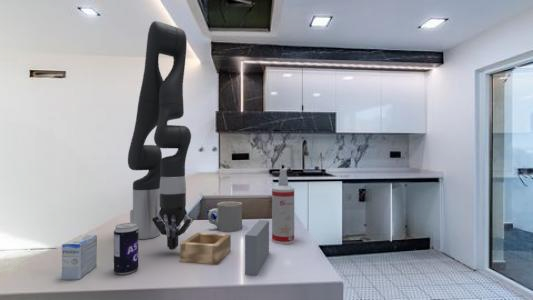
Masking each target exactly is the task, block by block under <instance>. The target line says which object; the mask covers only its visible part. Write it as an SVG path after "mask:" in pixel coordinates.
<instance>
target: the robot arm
mask: <svg viewBox="0 0 533 300" xmlns="http://www.w3.org/2000/svg"><path fill="white" fill-rule="evenodd" d="M187 40H188V39H187V35H186V32H185V31H184V30H183V28H179V27H176V26H174V25H171V24H168V23H164V22H161V21H157V20H155V21H154V20H153V21H152V22H151V24H150V26H149V28H148V34H147V40H146V49H145V61H144V70H143V75H142V81H141V87H140V92H139V96H138V104H137V110H136V117H135V123H134V129H133V133H132V138H131V141H130V145H129V149H128V154H127V166H128V168H129V169H130V170H132V171H147V173H146V174H145V176H143V177H141V178H138V179H136V180H134V181H133V183H132V209H131V210H129V211H130V213H129V215H130V216H129V223H136V224H137V227H138V240H146V239H153V238H156V237H159V236H160V235H163V236H166V239H167V240H166V243H167V245H166V246H167V248H168V250H170V251H171V250H172V251H173V250H176V249H177V247H179V237H180V236H181V235H183V234H185V232H186V231H187V229H189V227H190V226H191V225H192V223H193V222H194V220H195V219H194V218H193V217H190V216H189V215H188V212H187V209H186V206H187V200H186V199H187V196H186V195H187V182H186V160H187V155H188V151H189V147H190V143H191V139H192V133H191V130H190V129H189V127H187V126H186V125H176V124H175V125H174V124H168V122H169V121H173V120H178V119H181V118H182V117H183V116H184V113H185V112H184V111H185V109H184V90H183V88H184V77H185V69H186V57H187V43H188V42H187ZM160 55H165V56H169V57H172V58H173V62H172V63H173V64H172V67H171V69H170V72H169V73H168V74H167V75H166V77H165V78H163V76H162V75H161V70H160V67H159V60H160V59H159V56H160ZM154 129H155V131H154V136H153V140H154V144H145V143H146V140H147V138H148V136H149V135H150V134H151V132H152V131H153V130H154ZM162 149H177V151H176V152H175V154H173V155H168V156H164V157H163V155H162V154H163V153H162ZM182 222H183V224H182ZM181 224H182V225H181Z"/></svg>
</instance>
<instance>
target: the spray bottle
mask: <svg viewBox="0 0 533 300" xmlns="http://www.w3.org/2000/svg"><path fill="white" fill-rule="evenodd" d="M287 171H288V170H287V168H279V177H278V182H277V183H278V185H277V186H274V187H272V188H271V232H272V233H271V242H273V243H274V244H278V245H286V246H287V245H292V244H294V243H295V187H292V186H290V185H289V178H288V174H287V173H288V172H287Z"/></svg>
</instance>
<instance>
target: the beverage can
mask: <svg viewBox="0 0 533 300" xmlns="http://www.w3.org/2000/svg"><path fill="white" fill-rule="evenodd" d="M138 268H139V239H138V227H137V224H136V223H130V222H123V223H119V224H116V225H115V229H114V230H113V272H114V273H116V274H117V275H123V276H124V275H130V274H132V273H134V272H135V271H136V270H138Z"/></svg>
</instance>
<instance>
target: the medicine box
mask: <svg viewBox="0 0 533 300" xmlns="http://www.w3.org/2000/svg"><path fill="white" fill-rule="evenodd" d="M97 238H98V236H97V235H96V234H80V235H78V236H75V237H74V238H72V239H70V240H68V241H67V242H64V243H62V245H61V280H63V281H66V280H68V281H71V280H72V281H73V280H81V279H82V278H83V277H85V276H86V275H88V273H90V271H92V270H93V269H94V268H96V267H97V258H98V257H97V255H98V253H97V250H98V249H97V247H98V243H97V242H98V239H97Z"/></svg>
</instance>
